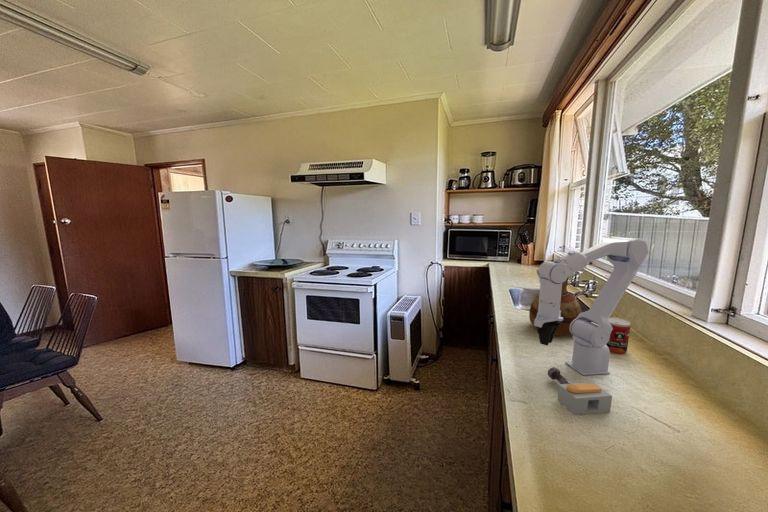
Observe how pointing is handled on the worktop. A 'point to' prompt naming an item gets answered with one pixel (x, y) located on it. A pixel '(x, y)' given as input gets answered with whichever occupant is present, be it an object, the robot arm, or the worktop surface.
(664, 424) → the worktop surface
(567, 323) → the brown clay vase
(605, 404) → the block
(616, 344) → the canned food
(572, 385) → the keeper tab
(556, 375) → the pin
